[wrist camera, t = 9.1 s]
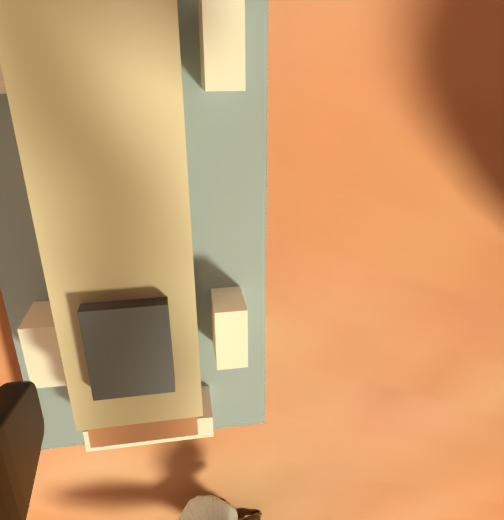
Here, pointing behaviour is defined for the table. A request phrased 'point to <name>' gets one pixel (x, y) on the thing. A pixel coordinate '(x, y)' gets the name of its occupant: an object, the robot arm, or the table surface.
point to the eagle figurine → (212, 510)
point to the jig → (202, 226)
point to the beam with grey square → (110, 206)
